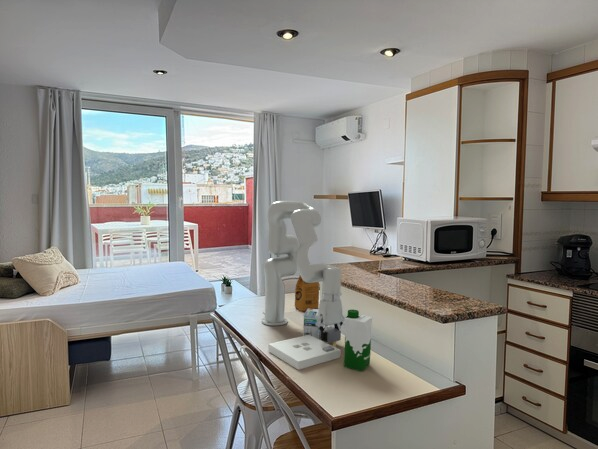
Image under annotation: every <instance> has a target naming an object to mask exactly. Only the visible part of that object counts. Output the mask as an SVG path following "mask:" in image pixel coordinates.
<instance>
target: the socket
mask: <svg viewBox="0 0 598 449" xmlns="http://www.w3.org/2000/svg"><path fill="white" fill-rule="evenodd" d="M267 352H269V353H270V354H272V355H273V356H275V357H277V358H279V359H280V360H282V361H283V362H285V363H286V364H288V365H289V366H291V367H293V368H294V369H297V370H303V369H306V368H309V367H312V366H313V367H314V366H316V365H319V364H323V363H326V362H330V361H334V360H336V359H339V358H341V352H342V351H341V349H339V348H338V347H337V346H336V347H334V346H332V345H331V344H330V343H328V342H326V343H325V342H323V341H321V339H320V338H319V339H317V338H315V337H313V336H311V335H305V336H303V335H302V336H297V337H292V338H287V339H285V340H284V339H283V340H279V341H276V342H275V341H274V342H270V343H268V350H267Z"/></svg>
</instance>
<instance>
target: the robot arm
mask: <svg viewBox="0 0 598 449" xmlns="http://www.w3.org/2000/svg"><path fill="white" fill-rule="evenodd" d="M284 220H291V223H292V226H293V229H294V232H295V235H292V234H287V224H286V222H285V221H284ZM267 221H268V234H267V235H268V236H267V250H268V253H269V254H270V255H273V256H277V257H271V258H268V259H266V260H265V262H264V264H263V274H264V284H265V285H264V286H265V287H264V288H265V289H264V290H265V294H264V310H263V311H262V314H263V315H264V316H263V318H261V323H262V324H263V325H265V326H278V327H279V326H283V325H286V324H287V323H288V319H287V317H285V308H286V307H285V306H286V304H285V302H286V301H285V298H286V285H285V282H284V281H283V279H282V278H283V277H289V276H293V275H295V274H296V273H297V271H298V273H299V276H301V278H302V279H303V280H304V281H305V282H306V283H314V282H319V283H320V282H322V284H321V285H322V286H321V287H322V295H321V299H320V301H319V306H318V309H319V310H318V320H317V322H316V323H315V325H316V326H317V327H318V328H319V330H320V331H321V339H320V340H322V341H324V342H326V343H328V342H327V332H326V330H327V327H329V326H331V325H333V328H336V329H338V330H341V328H342V326H343V324H344V323H345V321H344V318H345V316H344V315H343V302H342V299H341V297H342V295H343V294H342V292H341V291H342V290H341V288H342V285H341V284H342V269H341V268H340V267H338V266H335V265H334V266H332V265H329V263H324V262H323V263H314V264H311V263H310V260H309V257H308V253H309V249H310V248H311V247H313V246H314V245H316V244H317V243H318V240H319V237H318V236H317V233H316V230H315V228H317V227H319V225H320V224H321V222H322V216H321V213H320V212H319V211H318V210H317V209H316V208H314V207H313V206H311V205H308V204H307V203H306V202H304V201H297V200H278V201H273V202H272V203H271V204H270V205H269V207H268V209H267ZM282 255H283V256H282ZM279 256H280V257H279ZM321 323H322V324H321ZM320 324H321V325H320Z"/></svg>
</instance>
